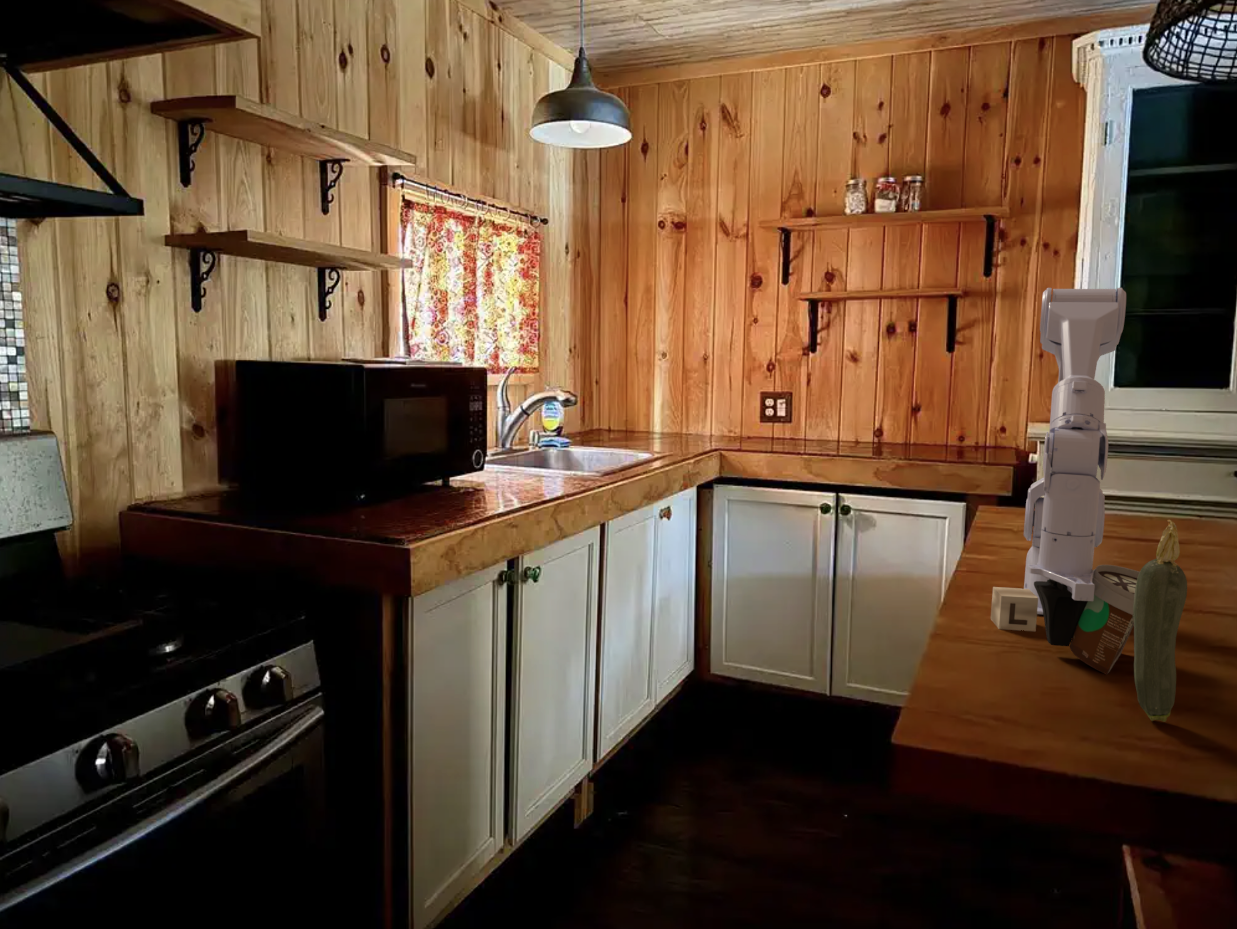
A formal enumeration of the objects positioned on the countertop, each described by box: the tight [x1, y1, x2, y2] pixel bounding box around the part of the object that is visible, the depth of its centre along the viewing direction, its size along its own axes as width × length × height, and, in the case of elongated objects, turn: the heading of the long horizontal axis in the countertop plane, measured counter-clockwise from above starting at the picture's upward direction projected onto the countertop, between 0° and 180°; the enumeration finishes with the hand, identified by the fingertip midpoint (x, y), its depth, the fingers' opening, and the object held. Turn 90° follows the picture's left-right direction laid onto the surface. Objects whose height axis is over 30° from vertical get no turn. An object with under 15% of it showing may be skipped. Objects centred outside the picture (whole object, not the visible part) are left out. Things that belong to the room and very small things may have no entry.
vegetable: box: [1133, 519, 1188, 723], centre depth 91 cm, size 4×4×20 cm
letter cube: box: [990, 586, 1038, 632], centre depth 123 cm, size 5×4×4 cm
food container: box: [1069, 564, 1140, 675], centre depth 109 cm, size 12×6×10 cm, turn 144°
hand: (1058, 644), depth 111 cm, fingers closed
